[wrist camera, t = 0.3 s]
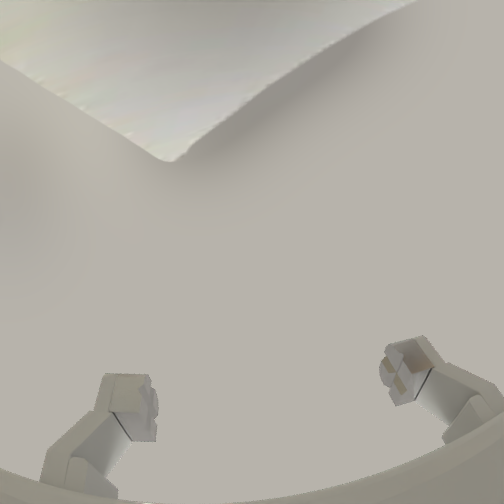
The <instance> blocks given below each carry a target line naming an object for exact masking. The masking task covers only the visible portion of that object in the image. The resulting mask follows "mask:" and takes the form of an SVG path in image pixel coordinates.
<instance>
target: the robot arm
mask: <svg viewBox="0 0 504 504" xmlns="http://www.w3.org/2000/svg"><path fill="white" fill-rule="evenodd" d="M385 354H386V357H384V359H383V360H382V361H381V364H380V367H379V368H380V369H379V370H380V377H381V380H382V382H383V384H384V385H386V386H387V387H389V388H390V389H389V395H390V397H391V399H392V400H393V402H394V404H395V406H399V405H402V404H406V403H409V402H412V401H415V402H416V403H417V404H419V405H420V406H422V407H423V408H424V409H426V410H427V411H428V412H430V413H431V414H433V415H434V416H436V417H437V418H439V419H440V420H441V421H443V422H444V423H446V424H447V425H449V427H448V428H447V430H446V431H445V432H444V433H443V435H442V439H443V441H444V443H445V446H442V447H441V448H438V449H437V450H434V451H432V452H430V453H428V454H426V455H423V456H421V457H419V458H417V459H414V460H412V461H409V462H407V463H404V464H402V465H399V466H397V467H394V468H392V469H389V470H386V471H384V472H380V473H378V474H375V475H372V476H369V477H365V478H362V479H359V480H356V481H352V482H349V483H345V484H342V485H338V486H334V487H330V488H326V489H322V490H317V491H313V492H308V493H303V494H299V495H293V496H287V497H282V498H274V499H267V500H259V501H251V502H250V501H249V502H240V503H224V504H504V397H503V395H502V394H501V392H500V391H499V390H498V388H497V387H496V386H495V385H494V384H493V383H491V382H489V381H487V380H484V379H482V378H480V377H478V376H476V375H474V374H472V373H469V372H468V371H466V370H463V369H461V368H459V367H457V366H455V365H453V364H451V363H445V362H444V360H443V359H442V358H441V356H440V355H439V354H438V352H437V351H436V350H435V348H434V347H433V346H432V345H431V343H430V342H429V341H428V340H427V338H426V337H425V336H423V335H422V336H418V337H415V338H411V339H407V340H403V341H399V342H395V343H391V344H389V345H388V346H387V347H386V349H385ZM157 415H158V398H157V394H156V391H155V389H153V388H152V387H151V379H150V377H149V375H146V374H110V373H106V374H105V375H104V376H103V378H102V381H101V385H100V388H99V392H98V396H97V399H96V403H95V407H94V411H89V412H88V413H87V414H86V415H85V416H83V417H82V418H81V419H80V420H79V421H78V422H77V423H76V424H75V425H74V426H73V427H72V428H70V429H69V430H68V431H67V432H66V433H65V434H64V435H63V436H62V437H61V438H60V439H59V440H58V441H57V442H55V443H54V444H53V445H52V446H51V447H50V448H49V449H48V450H47V453H46V456H45V461H44V464H43V468H42V472H41V477H40V481H39V482H38V481H34V480H32V479H29V478H26V477H22V476H20V475H17V474H14V473H11V472H9V471H6V470H4V469H1V468H0V504H162V503H147V502H137V501H128V500H119V499H118V489H117V488H116V487H115V486H114V485H113V484H112V483H111V482H110V481H109V480H107V479H106V477H107V475H108V474H109V473H110V471H111V470H112V469H113V468H114V466H115V465H116V463H117V462H118V461H119V460H120V458H121V457H122V456H123V454H124V453H125V452H126V450H127V449H128V448H129V446H130V445H131V444H132V441H141V442H142V441H144V442H156V432H157V425H156V423H155V421H154V419H155V418H156V417H157Z"/></svg>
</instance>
